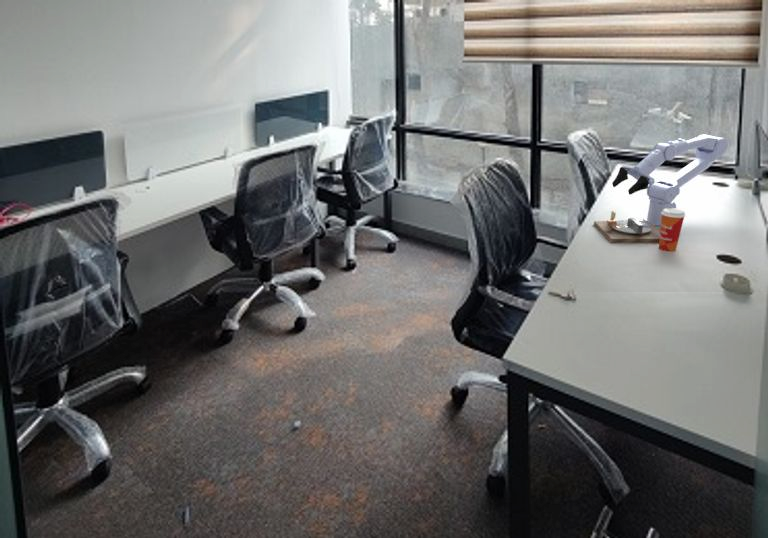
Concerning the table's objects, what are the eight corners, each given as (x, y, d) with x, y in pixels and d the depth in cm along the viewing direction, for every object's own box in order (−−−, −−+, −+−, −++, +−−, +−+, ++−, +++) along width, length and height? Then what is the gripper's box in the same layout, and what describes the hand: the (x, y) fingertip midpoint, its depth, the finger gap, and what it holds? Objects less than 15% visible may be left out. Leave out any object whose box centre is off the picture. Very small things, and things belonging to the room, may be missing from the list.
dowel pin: (613, 223, 239) (615, 211, 237) (614, 224, 238) (616, 212, 236) (609, 223, 239) (610, 211, 237) (610, 224, 238) (612, 212, 236)
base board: (647, 224, 242) (647, 221, 242) (669, 242, 223) (670, 238, 222) (593, 224, 243) (594, 221, 242) (611, 242, 223) (611, 238, 223)
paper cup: (651, 245, 220) (657, 207, 215) (671, 244, 221) (678, 207, 215) (662, 253, 213) (669, 214, 208) (683, 252, 213) (690, 213, 208)
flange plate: (642, 222, 238) (644, 212, 237) (658, 235, 224) (660, 225, 222) (601, 222, 239) (602, 212, 237) (614, 235, 224) (615, 225, 223)
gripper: (630, 152, 235) (604, 174, 233) (661, 165, 224) (635, 188, 222) (633, 165, 239) (607, 187, 238) (664, 179, 229) (637, 201, 227)
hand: (621, 188), depth 230 cm, fingers open, 7 cm apart
